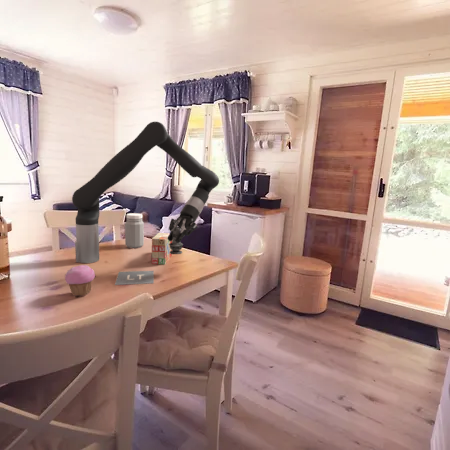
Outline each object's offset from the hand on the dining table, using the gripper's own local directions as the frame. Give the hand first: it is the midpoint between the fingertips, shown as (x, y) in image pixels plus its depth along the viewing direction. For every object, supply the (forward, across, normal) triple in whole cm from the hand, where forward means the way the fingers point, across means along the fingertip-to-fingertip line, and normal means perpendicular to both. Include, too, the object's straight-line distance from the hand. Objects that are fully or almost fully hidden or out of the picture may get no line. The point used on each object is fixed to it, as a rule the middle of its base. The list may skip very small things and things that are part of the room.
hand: (172, 241), depth 119 cm
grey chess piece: (+2, 0, +5) cm, 6 cm away
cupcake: (+34, -9, -14) cm, 39 cm away
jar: (-2, -45, +23) cm, 51 cm away
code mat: (+19, -8, +1) cm, 21 cm away
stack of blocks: (+1, -19, +20) cm, 28 cm away
